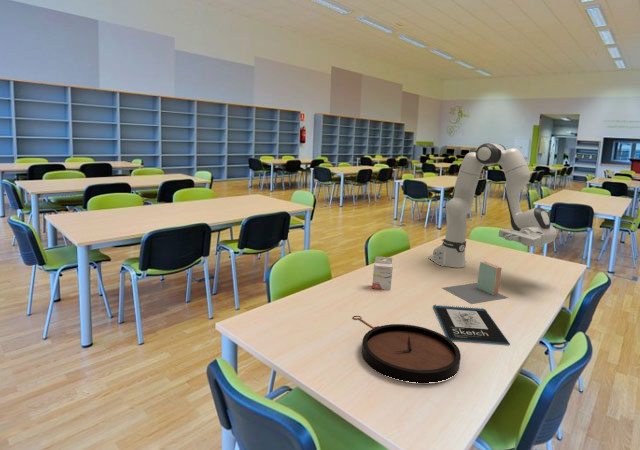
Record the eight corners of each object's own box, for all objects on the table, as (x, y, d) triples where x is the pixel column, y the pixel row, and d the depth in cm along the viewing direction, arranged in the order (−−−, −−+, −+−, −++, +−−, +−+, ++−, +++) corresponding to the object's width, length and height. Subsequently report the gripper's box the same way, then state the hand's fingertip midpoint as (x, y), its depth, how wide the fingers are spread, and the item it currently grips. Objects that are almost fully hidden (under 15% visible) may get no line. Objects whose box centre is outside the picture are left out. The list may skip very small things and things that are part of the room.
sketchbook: (447, 342, 148) (448, 337, 147) (432, 307, 177) (432, 303, 176) (509, 347, 146) (510, 341, 146) (483, 311, 175) (484, 306, 175)
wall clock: (435, 386, 114) (343, 346, 133) (433, 399, 115) (342, 357, 134) (475, 345, 138) (392, 316, 157) (473, 355, 139) (391, 326, 158)
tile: (476, 287, 200) (480, 261, 197) (481, 286, 201) (485, 261, 198) (492, 295, 191) (496, 268, 188) (497, 294, 192) (501, 267, 189)
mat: (441, 289, 198) (441, 287, 197) (476, 284, 206) (476, 282, 206) (471, 305, 180) (471, 304, 180) (508, 299, 188) (508, 297, 188)
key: (387, 332, 154) (362, 316, 166) (387, 329, 153) (362, 313, 166) (375, 334, 150) (350, 317, 163) (375, 332, 150) (350, 315, 163)
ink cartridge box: (372, 289, 194) (374, 259, 190) (372, 285, 198) (374, 255, 195) (390, 290, 193) (393, 260, 190) (390, 286, 198) (392, 257, 194)
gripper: (511, 225, 208) (491, 226, 202) (547, 235, 190) (526, 236, 184) (509, 237, 209) (489, 239, 204) (545, 248, 191) (524, 250, 185)
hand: (507, 238), depth 194 cm, fingers closed
